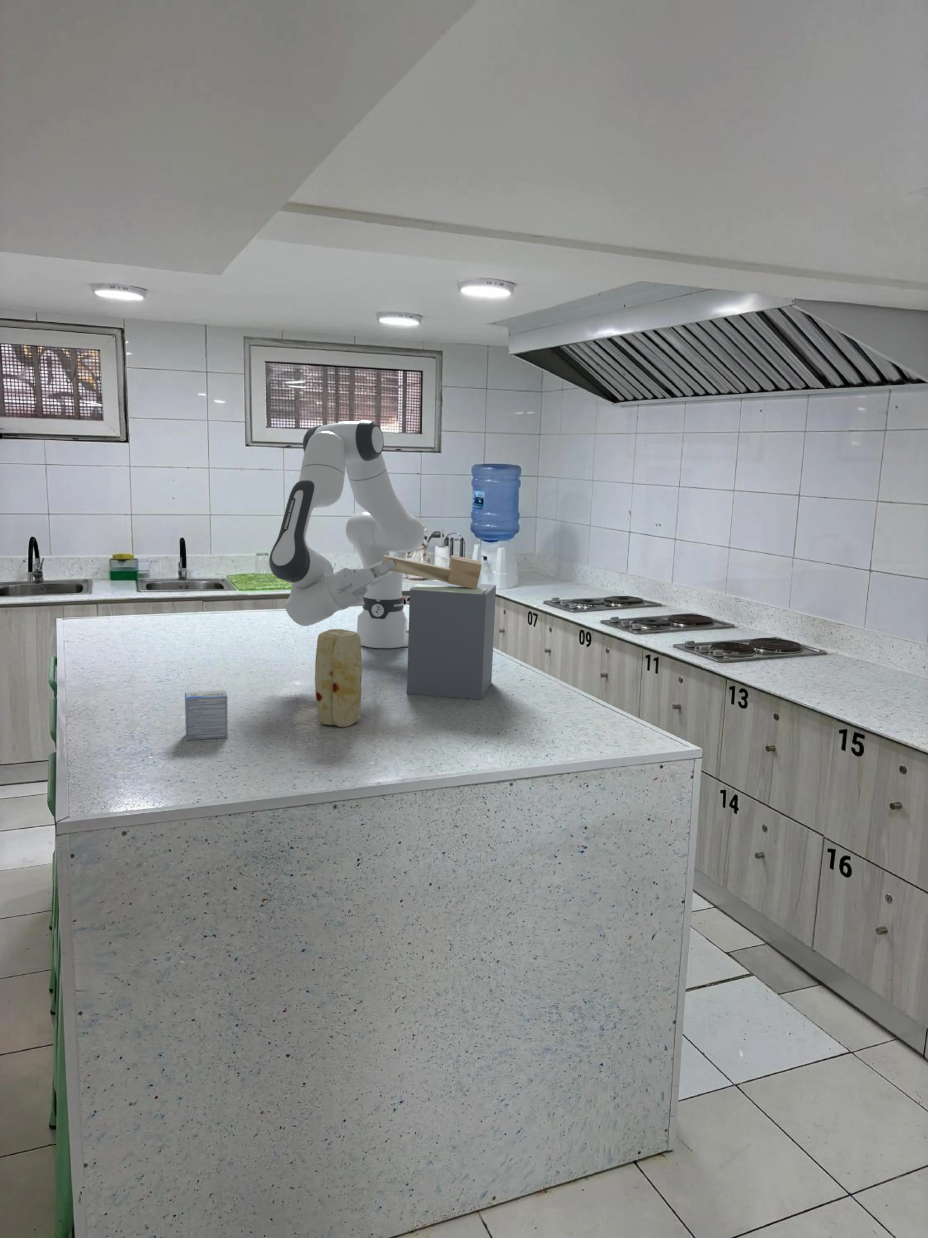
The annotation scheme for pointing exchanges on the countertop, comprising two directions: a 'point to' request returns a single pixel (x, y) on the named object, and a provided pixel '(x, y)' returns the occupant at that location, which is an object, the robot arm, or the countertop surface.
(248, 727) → the countertop surface
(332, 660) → the food model
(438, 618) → the stand
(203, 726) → the medicine box
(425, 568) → the mallet
